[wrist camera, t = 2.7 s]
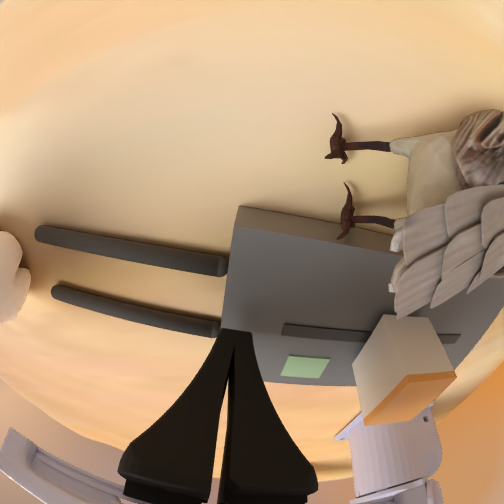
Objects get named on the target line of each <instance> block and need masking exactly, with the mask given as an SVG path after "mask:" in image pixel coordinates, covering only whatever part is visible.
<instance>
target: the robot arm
mask: <svg viewBox="0 0 504 504" xmlns="http://www.w3.org/2000/svg"><path fill="white" fill-rule="evenodd" d="M228 378H229V379H228ZM227 382H228V414H227V430H226V438H225V446H224V454H223V462H222V469H221V477H220V485H219V493H218V500H217V504H305V503H307V495H310V494H312V493H315V492H316V491H317V490H318V481H317V477H316V473H315V470H314V468H313V466H312V465H311V464H310V463H309V461H308V460H307V459H306V458H305V456H304V455H303V454H302V453H301V451H300V450H299V448H298V447H297V446H296V444H295V443H294V441H293V440H292V438H291V437H290V435H289V433H288V432H287V430H286V429H285V427H284V425H283V424H282V422H281V420H280V418H279V416H278V414H277V413H276V411H275V408H274V406H273V404H272V402H271V400H270V398H269V395H268V393H267V390H266V388H265V385H264V382H263V379H262V376H261V373H260V370H259V366H258V363H257V359H256V355H255V350H254V345H253V336H252V333H251V332H247V331H241V330H234V329H228V328H221V329H219V332H218V335H217V338H216V341H215V343H214V345H213V347H212V349H211V351H210V353H209V355H208V356H207V358H206V360H205V362H204V363H203V365H202V367H201V368H200V370H199V371H198V373H197V374H196V376H195V377H194V379H193V380H192V382H191V383H190V384H189V386H188V387H187V388H186V390H185V391H184V392H183V393H182V395H181V396H180V397H179V398H178V399H177V400H176V402H175V403H174V404H173V405H172V406H171V407H170V408H169V409H168V410H167V411H166V412H165V413H164V414H163V415H162V416H161V417H160V418H159V419H158V420H157V421H156V422H155V423H154V424H153V425H152V426H151V427H150V428H148V429H147V430H146V431H145V432H143V433H142V434H141V435H140V436H138V437H137V438H136V439H135V440H133V441H132V442H131V443H130V444H129V446H128V447H127V449H126V450H125V452H124V453H123V455H122V458H121V460H120V463H119V467H118V473H119V474H120V475H121V476H122V477H124V478H125V479H126V483H125V486H122V485H120V484H117V483H114V482H111V481H109V480H106V479H104V478H101V477H99V476H96V475H94V474H91V473H89V472H87V471H84V470H82V469H80V468H78V467H76V466H74V465H71V464H69V463H68V462H65V461H64V460H62V459H59V458H58V457H56V456H54V455H52V454H50V453H49V452H47V451H45V450H43V449H41V448H40V447H38V446H37V445H36V444H35V443H34V442H32V441H31V440H29V439H28V438H26V437H25V436H23V435H22V434H20V433H19V432H17V431H16V430H14V429H13V428H11V427H10V428H9V430H8V433H7V435H6V438H5V441H4V443H3V445H2V448H1V450H0V471H2V472H3V473H4V474H5V475H7V476H8V477H9V478H11V479H12V480H13V481H15V482H16V483H17V484H19V485H20V486H21V487H23V488H24V489H25V490H27V491H28V492H30V493H31V494H32V495H34V496H35V497H36V498H38V499H39V500H41V501H42V502H44V503H45V504H123V503H121V501H120V499H119V498H118V497H120V498H122V499H125V500H128V501H131V502H134V503H138V504H201V502H202V503H207V502H208V499H209V495H210V491H211V483H212V475H213V466H214V458H215V450H216V441H217V433H218V426H219V418H220V411H221V407H222V403H223V399H224V395H225V390H226V386H227ZM433 405H434V401H432V402H431V403H430V404H429V405H428V406H427V407H426V408H425V409H423V410H422V411H421V412H420V413H419V414H418V415H416V416H415V417H414V418H413V419H412V420H409V421H402V422H396V423H388V424H379V425H369V426H364V422H363V416H362V412H361V413H360V414H359V415H358V416H357V417H356V418H355V419H354V420H353V421H352V422H350V423H349V424H348V425H347V426H346V427H345V428H344V429H343V430H342V431H341V432H339V433H338V434H337V435H336V436H335V437H334V438H335V440H349V443H350V451H351V459H352V468H353V478H354V489H355V498H357V499H353V500H350V504H443V498H442V492H441V488H440V485H439V482H438V481H435V480H434V479H431V480H429V481H428V479H427V478H429V477H430V476H432V475H433V474H434V473H435V472H436V471H437V469H438V468H439V466H440V463H441V460H442V447H441V443H440V440H439V436H438V432H437V429H436V425H435V422H434V418H433V415H432V412H431V407H432V406H433Z"/></svg>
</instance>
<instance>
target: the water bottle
mask: <svg viewBox="0 0 504 504" xmlns="http://www.w3.org/2000/svg"><path fill="white" fill-rule="evenodd" d="M22 254H23V252H22V250H21V246H20V244H19V242H18V241H17V240H16V238H15V237H14V236H13V235H12V234H10V233H9V232H4V231H0V325H2V324H4V323H5V322H7V321H10V320H12V319H14V318H15V317H16V316H17V314H18V313H19V311H20V310H21V308H22V306H23V304H24V302H25V300H26V297H27V294H28V291H29V287H30V283H31V274H30V272H29V269H27V268H18V267H19V264H20V261H21V258H22Z"/></svg>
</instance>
